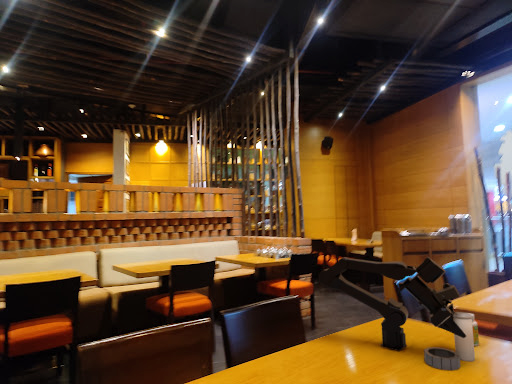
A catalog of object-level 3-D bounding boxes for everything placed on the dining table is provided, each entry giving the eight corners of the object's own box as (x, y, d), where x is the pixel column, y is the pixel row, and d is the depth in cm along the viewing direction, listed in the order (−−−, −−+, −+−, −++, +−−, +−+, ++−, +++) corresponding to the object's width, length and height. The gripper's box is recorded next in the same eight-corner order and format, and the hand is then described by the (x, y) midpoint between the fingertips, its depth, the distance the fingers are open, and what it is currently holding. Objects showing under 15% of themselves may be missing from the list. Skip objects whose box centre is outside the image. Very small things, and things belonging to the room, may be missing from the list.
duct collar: (420, 363, 99) (420, 353, 99) (430, 355, 105) (430, 345, 106) (455, 373, 93) (454, 361, 93) (463, 362, 99) (462, 352, 99)
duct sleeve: (453, 358, 103) (450, 314, 104) (457, 353, 106) (454, 311, 107) (473, 362, 99) (469, 317, 100) (477, 357, 103) (473, 314, 104)
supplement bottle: (478, 347, 111) (476, 317, 112) (459, 344, 114) (457, 314, 115) (479, 342, 115) (477, 313, 116) (461, 339, 118) (459, 311, 119)
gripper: (440, 280, 99) (488, 324, 93) (441, 272, 115) (483, 308, 109) (412, 305, 103) (457, 348, 96) (418, 293, 119) (456, 330, 112)
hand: (464, 332), depth 103 cm, fingers open, 9 cm apart
